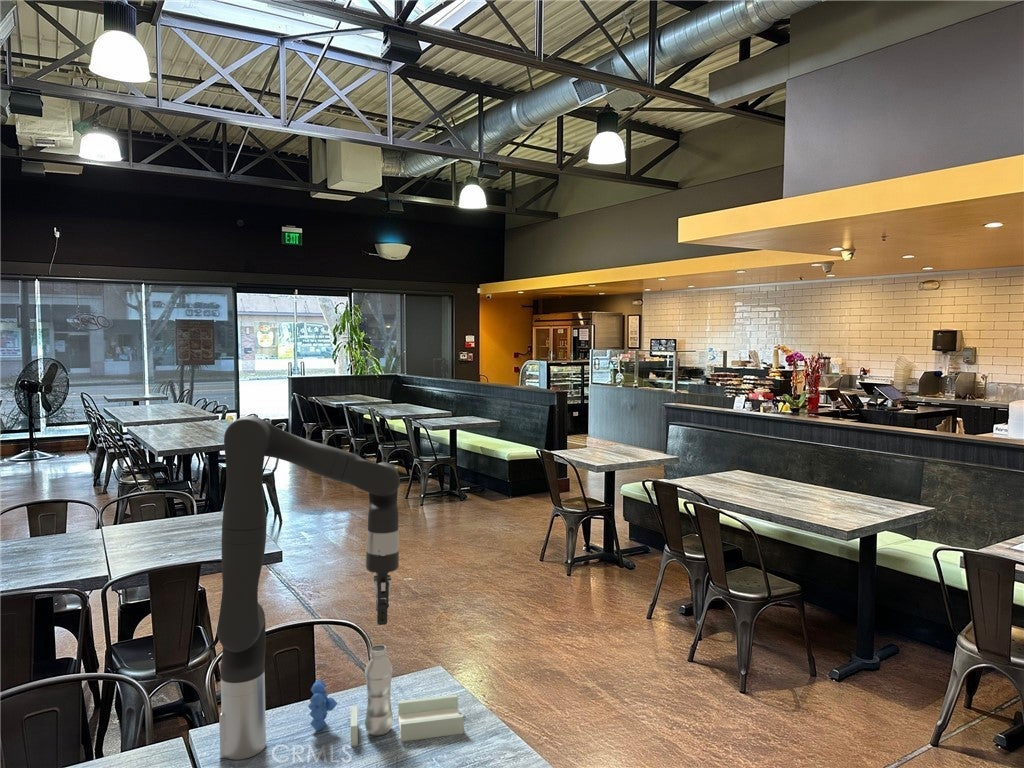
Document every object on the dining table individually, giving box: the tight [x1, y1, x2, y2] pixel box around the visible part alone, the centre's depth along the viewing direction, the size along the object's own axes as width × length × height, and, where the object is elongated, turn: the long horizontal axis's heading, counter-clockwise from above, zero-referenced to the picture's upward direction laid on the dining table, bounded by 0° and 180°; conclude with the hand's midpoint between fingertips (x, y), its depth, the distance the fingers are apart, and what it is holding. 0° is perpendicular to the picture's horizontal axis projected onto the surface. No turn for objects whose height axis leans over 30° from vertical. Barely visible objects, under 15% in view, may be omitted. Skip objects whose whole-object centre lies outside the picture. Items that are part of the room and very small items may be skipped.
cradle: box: [397, 694, 465, 742], centre depth 163 cm, size 14×11×4 cm
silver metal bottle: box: [364, 644, 394, 736], centre depth 160 cm, size 6×7×20 cm
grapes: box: [307, 679, 338, 732], centre depth 161 cm, size 12×7×12 cm, turn 11°
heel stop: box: [350, 705, 359, 746], centre depth 159 cm, size 2×9×4 cm, turn 13°
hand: (381, 617), depth 160 cm, fingers open, 8 cm apart
